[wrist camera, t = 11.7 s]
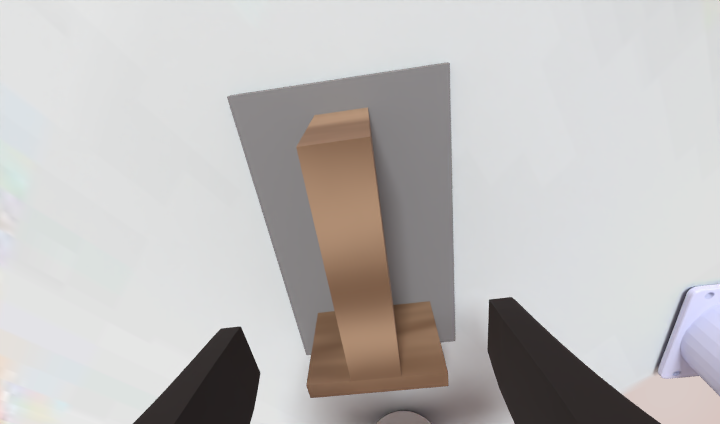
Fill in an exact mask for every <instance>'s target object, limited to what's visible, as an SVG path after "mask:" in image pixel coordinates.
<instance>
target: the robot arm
mask: <svg viewBox="0 0 720 424" xmlns="http://www.w3.org/2000/svg"><path fill="white" fill-rule="evenodd" d="M488 354H489V357H490V360H491V363H492V367H493V370H494V373H495V376H496V379H497V382H498V385H499V388H500V391H501V393H502V395H503V398H504V400H505V402H506V404H507V407H508V409H509V411H510V414H511V416H512V418H513V421H514V423H515V424H661V423H659V422H658V421H656V420H655V419H654V418H652V417H651V416H649V415H648V414H647V413H646V412H644V411H643V410H642V409H640V408H639V407H638V406H636V405H635V404H634V403H632V402H631V401H630V400H628V399H627V398H626V397H624V396H623V395H622V394H621V393H619V392H618V391H617V390H616V389H614V388H613V387H612V386H611V385H609V384H608V383H607V382H606V381H605V380H603V379H602V378H601V377H600V376H598V375H597V374H596V373H595V372H594V371H592V370H591V369H590V368H589V367H588V366H586V365H585V364H584V363H583V362H582V361H581V360H579V359H578V358H577V357H576V356H575V355H574V354H573V353H571V352H570V351H569V350H568V349H567V348H566V347H565V346H563V345H562V344H561V343H560V342H559V341H558V340H557V339H556V338H555V337H553V336H552V335H551V334H550V333H549V332H548V331H547V330H546V329H545V328H544V327H543V326H542V325H541V324H540V323H538V322H537V321H536V320H535V319H534V318H533V317H532V316H531V315H530V314H529V313H528V312H527V311H526V310H525V309H524V308H523V307H522V306H521V305H520V304H519V303H518V302H517V301H516V300H514V299H513V298H512V297H509V298H500V299H491V300H489V323H488ZM658 374H659V375H660V376H661V377H662V378H680V377H690V376H700V377H701V378H703V380H704V381H706V382H707V384H708V385H709V386H710V387H711V388H713V390H714V391H715V392H716V393H717V394H718V395H719V396H720V284H715V285H705V286H696V287H693V288H691V289H690V290H689V291H688V292H687V294H686V297H685V300H684V302H683V305H682V307H681V310H680V313H679V315H678V318H677V321H676V323H675V326H674V329H673V331H672V334H671V336H670V339H669V342H668V344H667V347H666V350H665V352H664V355H663V358H662V360H661V363H660V365H659V368H658ZM259 378H260V371H259V369H258V366H257V364H256V362H255V359H254V357H253V355H252V352H251V350H250V347H249V345H248V343H247V340H246V338H245V336H244V333H243V331H242V328H241V327H232V328H223V329H220V330H219V331H218V332H217V333H216V335H215V336H214V337H213V338H212V339H211V340H210V341H209V342H208V343H207V344H206V346H205V347H204V348H203V349H202V350H201V351H200V352H199V353H198V355H197V356H196V357H195V358H194V359H193V360H192V361H191V362H190V364H189V365H188V366H187V367H186V368H185V369H184V370H183V371H182V372H181V374H180V375H179V376H178V377H177V378H176V379H175V380H174V381H173V382H172V383H171V385H170V386H169V387H168V388H167V389H166V390H165V391H164V392H163V393H162V394H161V395H160V397H159V398H158V399H157V400H156V401H155V402H154V403H153V404H152V405H151V406H150V407H149V408H148V409H147V410H146V411H145V412H144V413H143V414H142V415H141V416H140V417H139V418H138V419H137V420H136V421H135V422H134V423H133V424H250V421H251V418H252V414H253V411H254V406H255V401H256V396H257V390H258V384H259Z"/></svg>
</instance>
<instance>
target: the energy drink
mask: <svg viewBox="0 0 720 424" xmlns="http://www.w3.org/2000/svg"><path fill="white" fill-rule="evenodd" d="M376 424H431V422H430V421H428V420H427V419H426V418H424V417H423V416H421V415H419V414H417V413H414V412H411V411H396V412H392V413H390V414H387V415H385V416H384V417H383V418H381V419H380V420H379V421H378V422H377V423H376Z"/></svg>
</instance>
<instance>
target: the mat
mask: <svg viewBox="0 0 720 424" xmlns="http://www.w3.org/2000/svg"><path fill="white" fill-rule="evenodd" d="M227 98H228V101H229V105H230V108H231V111H232V114H233V118H234V121H235V124H236V127H237V131H238V134H239V137H240V140H241V144H242V147H243V150H244V153H245V157H246V160H247V163H248V166H249V170H250V173H251V176H252V179H253V183H254V186H255V189H256V192H257V196H258V199H259V202H260V205H261V209H262V212H263V215H264V218H265V222H266V225H267V228H268V231H269V235H270V238H271V241H272V244H273V248H274V251H275V254H276V257H277V261H278V264H279V267H280V270H281V274H282V277H283V280H284V283H285V287H286V290H287V293H288V296H289V300H290V303H291V306H292V309H293V313H294V316H295V319H296V322H297V326H298V329H299V332H300V335H301V339H302V342H303V345H304V349H305V352H306V355H311V353H312V347H313V340H314V334H315V328H316V321H317V315H318V313H322V312H331V311H334V306H333V302H332V298H331V294H330V289H329V285H328V281H327V277H326V272H325V268H324V264H323V259H322V255H321V251H320V247H319V242H318V238H317V234H316V230H315V225H314V221H313V217H312V212H311V208H310V204H309V200H308V195H307V191H306V187H305V183H304V178H303V174H302V170H301V165H300V161H299V157H298V153H297V148H296V146H297V145H298V143H299V141H300V140H301V138H302V136H303V134H304V133H305V131H306V129H307V127H308V126H309V124H310V122H311V120H312V119H313V117H314V115H319V114H326V113H333V112H340V111H347V110H354V109H361V108H368V112H369V120H370V127H371V135H372V143H373V151H374V159H375V166H376V174H377V182H378V190H379V197H380V205H381V213H382V221H383V229H384V236H385V244H386V252H387V260H388V267H389V275H390V283H391V291H392V299H393V305H398V304H408V303H417V302H427V301H430V304H431V308H432V311H433V315H434V319H435V323H436V327H437V331H438V335H439V339H440V342H450V341H455V303H454V254H453V206H452V158H451V110H450V63H441V64H435V65H428V66H422V67H415V68H408V69H402V70H395V71H389V72H382V73H375V74H369V75H362V76H356V77H349V78H342V79H336V80H329V81H323V82H316V83H309V84H303V85H296V86H290V87H283V88H276V89H270V90H263V91H257V92H250V93H243V94H237V95H230V96H228V97H227Z"/></svg>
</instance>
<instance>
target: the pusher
mask: <svg viewBox="0 0 720 424" xmlns="http://www.w3.org/2000/svg"><path fill="white" fill-rule="evenodd" d="M296 148H297V153H298V157H299V161H300V165H301V170H302V174H303V178H304V183H305V187H306V191H307V195H308V200H309V204H310V208H311V212H312V217H313V221H314V225H315V230H316V234H317V238H318V242H319V247H320V251H321V255H322V259H323V264H324V268H325V272H326V277H327V281H328V285H329V289H330V294H331V298H332V302H333V306H334V311H331V312H322V313H318V315H317V321H316V328H315V334H314V340H313V347H312V353H311V359H310V366H309V372H308V379H307V389H308V392H309V395H310V398H316V397H327V396H339V395H350V394H362V393H373V392H385V391H396V390H408V389H419V388H431V387H442V386H448V371H447V367H446V363H445V359H444V355H443V351H442V347H441V343H440V339H439V335H438V331H437V327H436V323H435V319H434V315H433V311H432V308H431V304H430V301H427V302H417V303H408V304H398V305H393V299H392V291H391V283H390V275H389V267H388V260H387V252H386V244H385V236H384V229H383V221H382V213H381V205H380V197H379V190H378V182H377V174H376V166H375V159H374V151H373V143H372V135H371V127H370V120H369V112H368V108H361V109H354V110H347V111H340V112H333V113H326V114H319V115H314V117H313V119H312V120H311V122H310V124H309V126H308V127H307V129H306V131H305V133H304V134H303V136H302V138H301V140H300V141H299V143H298V145H297V146H296Z"/></svg>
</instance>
